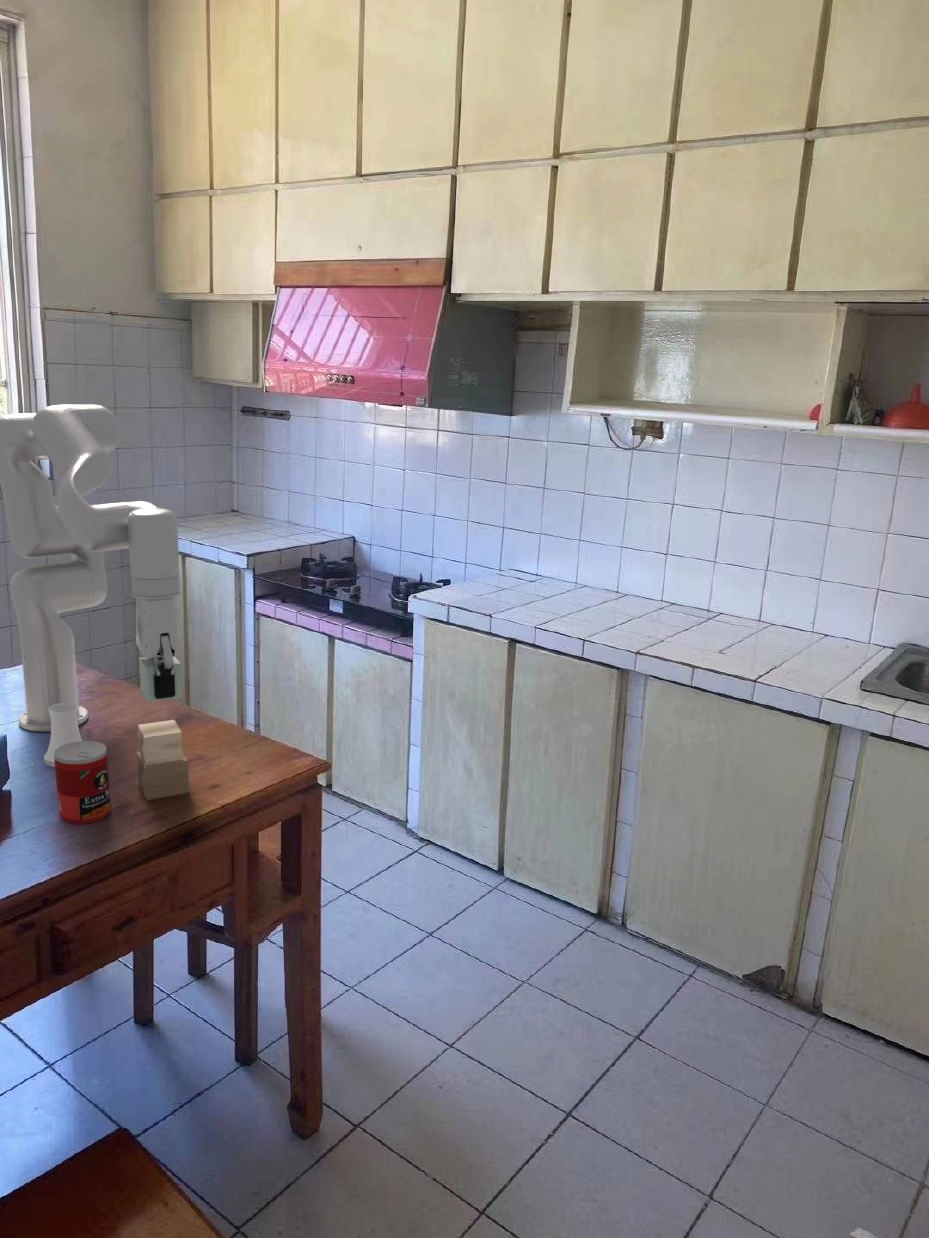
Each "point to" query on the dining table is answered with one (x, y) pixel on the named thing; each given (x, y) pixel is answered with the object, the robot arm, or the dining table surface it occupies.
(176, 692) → the sage block
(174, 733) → the beech block
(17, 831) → the dining table surface
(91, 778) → the canned food
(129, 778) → the dining table surface
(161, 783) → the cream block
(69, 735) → the vase
